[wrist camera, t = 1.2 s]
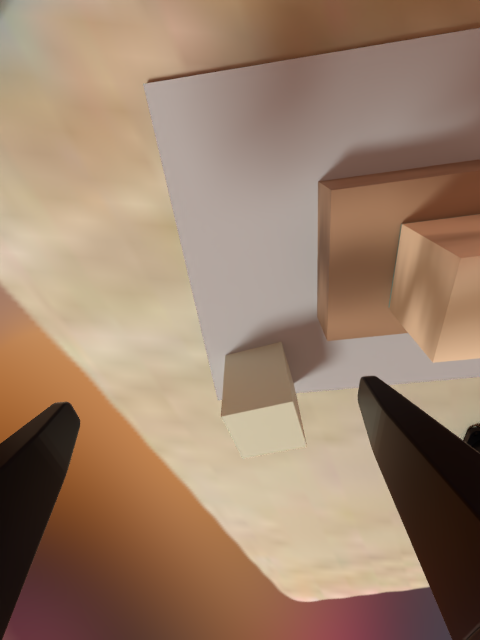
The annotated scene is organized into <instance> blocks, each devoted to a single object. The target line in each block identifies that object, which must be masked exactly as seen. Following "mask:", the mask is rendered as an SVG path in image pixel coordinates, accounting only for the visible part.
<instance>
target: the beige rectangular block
mask: <svg viewBox="0 0 480 640" xmlns="http://www.w3.org/2000/svg"><path fill="white" fill-rule="evenodd" d="M221 418H222V420H223V422H224V424H225V426H226V428H227V430H228V432H229V434H230V436H231V438H232V440H233V441H234V443H235V445H236V447H237V449H238V451H239V453H240V455H241V457H242V459H246V458H251V457H256V456H262V455H267V454H273V453H278V452H283V451H289V450H294V449H299V448H305V447H307V445H306V440H305V435H304V430H303V425H302V421H301V416H300V411H299V406H298V401H297V397H296V392H295V387H294V383H293V379H292V376H291V372H290V369H289V366H288V362H287V359H286V356H285V352H284V349H283V345H282V342H278V343H274V344H270V345H266V346H261V347H257V348H253V349H249V350H245V351H241V352H237V353H233V354H229V355H225V366H224V380H223V394H222V408H221Z"/></svg>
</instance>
